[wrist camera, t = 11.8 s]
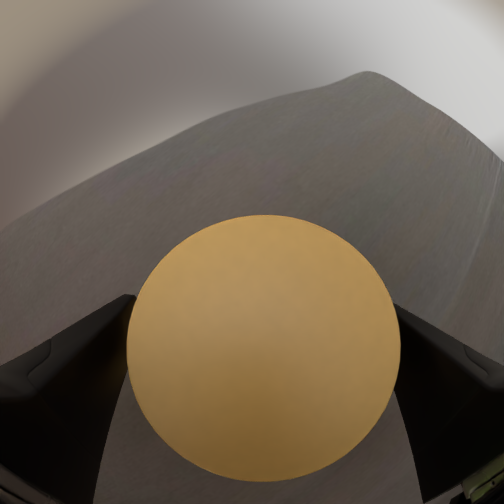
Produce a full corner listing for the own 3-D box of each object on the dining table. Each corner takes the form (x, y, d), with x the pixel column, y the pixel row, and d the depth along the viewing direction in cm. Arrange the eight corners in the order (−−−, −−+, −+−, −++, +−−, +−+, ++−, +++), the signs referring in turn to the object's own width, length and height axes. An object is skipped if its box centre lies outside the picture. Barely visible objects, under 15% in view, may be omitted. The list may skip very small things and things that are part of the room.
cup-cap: (260, 433, 13) (292, 517, 4) (160, 356, 14) (77, 358, 6) (335, 337, 15) (436, 315, 7) (239, 263, 16) (248, 169, 8)
